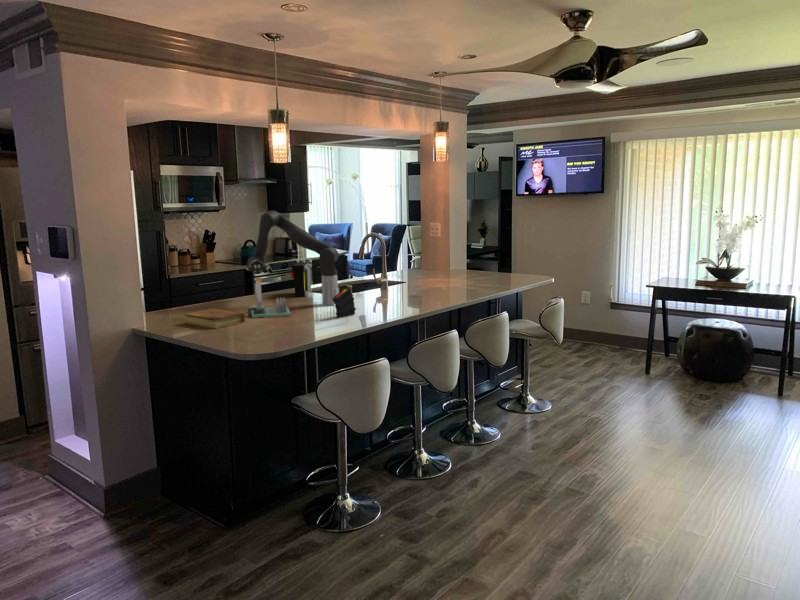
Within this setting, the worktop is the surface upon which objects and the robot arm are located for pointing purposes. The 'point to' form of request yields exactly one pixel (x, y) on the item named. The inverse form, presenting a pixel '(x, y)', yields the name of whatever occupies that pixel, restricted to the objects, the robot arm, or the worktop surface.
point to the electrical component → (301, 278)
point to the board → (271, 313)
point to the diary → (214, 318)
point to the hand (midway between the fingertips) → (257, 270)
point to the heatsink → (280, 309)
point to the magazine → (344, 303)
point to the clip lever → (259, 294)
